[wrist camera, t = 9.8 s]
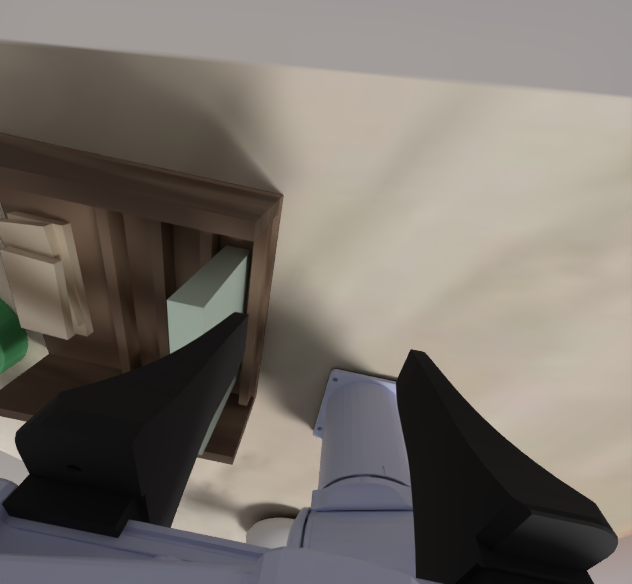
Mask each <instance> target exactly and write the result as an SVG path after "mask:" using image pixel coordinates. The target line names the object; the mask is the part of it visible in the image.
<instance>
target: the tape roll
mask: <svg viewBox="0 0 632 584" xmlns="http://www.w3.org/2000/svg"><path fill="white" fill-rule="evenodd" d="M27 349H28V339H27V335H26V332H25V329H24V328H21V325H20V322H19V318H18V317H17V315H16V314H15V313H14V312H13V310H12V309H11V308H10V307H9V306H8V305H7V304H6V303H5V302H4V301H3V300H2V299H1V298H0V374H1V373H2V372H4V371H5V370H7V369H8V368H10V367H11V366H13V365H14V364H15V363H17V362H18V361H20V360H21V359H22V358H23V357H24V356H25V354H26V352H27Z"/></svg>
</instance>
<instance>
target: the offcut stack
mask: <svg viewBox="0 0 632 584" xmlns="http://www.w3.org/2000/svg"><path fill="white" fill-rule="evenodd" d="M7 217H8V219H6V218H3V219H0V237H1V239H2V241H3V244H4V246H5V248H3V249H0V253H1V257H2V260H3V264H4V268H5V271H6V275H7V278H8V282H9V286H10V289H11V293H12V296H13V300H14V304H15V307H16V311H17V314H18V318H19V322H20V325H21V328H24V329H28V330H32V331H36V332H39V333H43V334H47V335H51V336H55V337H58V338H62V339H66V340H68V339H70V338H71V337H72V336H74V335H75V334H79V335H83V336H89V335H90V334H91V333H93V332H94V331H93V327H92V322H91V317H90V313H89V308H88V303H87V299H86V294H85V289H84V284H83V280H82V275H81V270H80V266H79V261H78V256H77V252H76V247H75V242H74V238H73V233H72V228H71V224H70V223H68V222H63V221H59V220H54V219H50V218H45V217H40V216H36V215H31V214H26V213H22V212H17V211H15V212H11V213H7Z"/></svg>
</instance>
